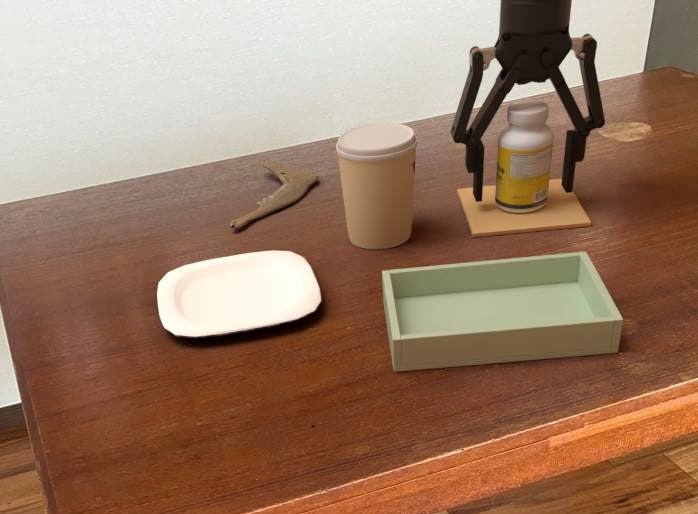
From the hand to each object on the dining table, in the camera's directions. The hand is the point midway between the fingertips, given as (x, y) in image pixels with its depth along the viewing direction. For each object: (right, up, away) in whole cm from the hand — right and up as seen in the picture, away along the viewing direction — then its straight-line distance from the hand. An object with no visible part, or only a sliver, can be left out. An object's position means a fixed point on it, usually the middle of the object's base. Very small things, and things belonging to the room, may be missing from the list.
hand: (521, 193), depth 110 cm
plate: (-35, -16, -9) cm, 39 cm away
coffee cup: (-18, -6, 0) cm, 19 cm away
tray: (-8, -21, -19) cm, 29 cm away
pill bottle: (0, -1, +1) cm, 2 cm away
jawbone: (-34, +3, +12) cm, 36 cm away
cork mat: (0, -1, +1) cm, 2 cm away
